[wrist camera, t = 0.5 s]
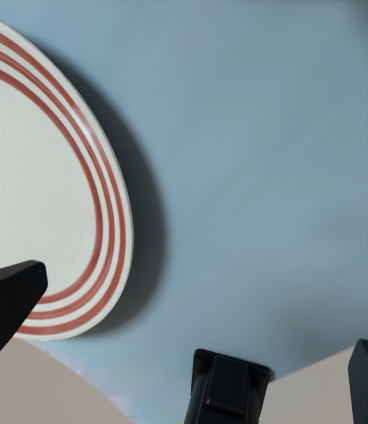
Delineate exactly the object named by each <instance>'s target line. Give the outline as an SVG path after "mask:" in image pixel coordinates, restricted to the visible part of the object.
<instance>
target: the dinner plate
mask: <svg viewBox="0 0 368 424" xmlns="http://www.w3.org/2000/svg"><path fill="white" fill-rule="evenodd" d="M133 249H134V227H133V217H132V211H131V205H130V199H129V195H128V191H127V187H126V184H125V181H124V178H123V174H122V171H121V168H120V165H119V163H118V160H117V158H116V156H115V153H114V151H113V148H112V146H111V144H110V142H109V140H108V138H107V136H106V134H105V132H104V131H103V129H102V127H101V125H100V123H99V122H98V120H97V118H96V117H95V115H94V113H93V112H92V110H91V109H90V107H89V106H88V105H87V103H86V102H85V100H84V99H83V97H82V96H81V95H80V93H79V92H78V91H77V90H76V88H75V87H74V86H73V84H72V83H71V82H70V81H69V80H68V78H67V77H66V76H65V75H64V74H63V73H62V72H61V71H60V70H59V69H58V68H57V66H56V65H55V64H54V63H53V62H52V61H51V60H50V59H49V58H48V57H47V56H46V55H44V54H43V53H42V52H41V51H40V50H39V49H38V48H37V47H36V46H35V45H33V44H32V43H31V42H30V41H28V40H27V39H26V38H25V37H23V36H22V35H21V34H19V33H18V32H17V31H15V30H14V29H12V28H11V27H9V26H8V25H6V24H5V23H3V22H1V21H0V268H3V267H7V266H10V265H14V264H17V263H21V262H24V261H27V260H37V261H41V262H43V263H44V264H45V266H46V271H47V278H48V288H47V290H46V292H45V293H44V295H43V296H42V298H41V299H40V300H39V302H38V303H37V305H36V306H35V307H34V309H33V310H32V311H31V313H30V314H29V316H28V317H27V318H26V320H25V321H24V323H23V324H22V325H21V327H20V328H19V329H18V331H17V332H16V333H15V334H14V336H13V337H15V338H20V339H25V340H34V341H55V340H62V339H67V338H70V337H74V336H77V335H79V334H81V333H84V332H86V331H88V330H89V329H91V328H92V327H94V326H95V325H97V324H98V323H99V322H100V321H101V320H103V319H104V318H105V317H106V315H107V314H108V313H109V312H110V311H111V310H112V308H113V307H114V306H115V304H116V303H117V301H118V300H119V298H120V296H121V294H122V292H123V290H124V288H125V285H126V283H127V280H128V277H129V273H130V269H131V264H132V258H133Z"/></svg>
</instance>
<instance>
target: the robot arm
mask: <svg viewBox="0 0 368 424" xmlns="http://www.w3.org/2000/svg"><path fill="white" fill-rule="evenodd" d="M47 288H48V278H47V271H46V266H45V264H44V263H43V262H41V261H37V260H27V261H24V262H21V263H17V264H14V265H10V266H7V267H3V268H0V351H1V350H2V349H3V347H4V346H5V345H6V344H7V343H8V342H9V340H10V339H11V338H12V337H13V336H14V334H15V333H16V332H17V331H18V329H19V328H20V327H21V325H22V324H23V323H24V321H25V320H26V318H27V317H28V316H29V314H30V313H31V311H32V310H33V309H34V307H35V306H36V305H37V303H38V302H39V300H40V299H41V298H42V296H43V295H44V293H45V292H46V290H47ZM348 375H349V384H350V393H351V402H352V412H353V421H354V424H368V340H367V339H359V340H358V341H357V343H356V346H355V348H354V351H353V353H352V356H351V358H350V361H349V365H348ZM269 377H270V370H269V369H268V368H267V367H264V366H261V365H257V364H253V363H250V362H246V361H242V360H238V359H235V358H231V357H227V356H224V355H220V354H216V353H212V352H209V351H205V350H201V349H197V350H195V353H194V359H193V372H192V384H191V399H190V402H189V406H188V410H187V414H186V417H185V421H184V424H258V423H259V417H260V414H261V410H262V405H263V401H264V397H265V393H266V389H267V385H268V381H269Z"/></svg>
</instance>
